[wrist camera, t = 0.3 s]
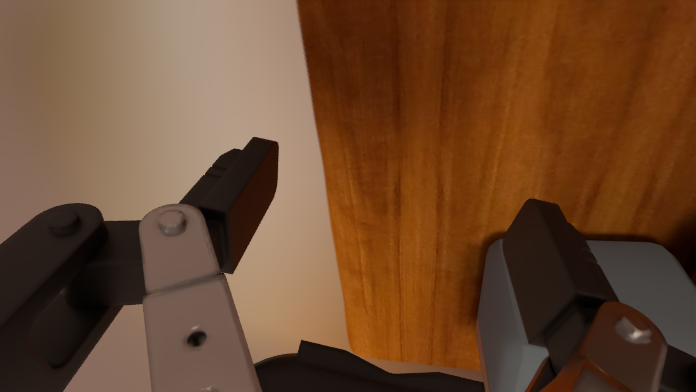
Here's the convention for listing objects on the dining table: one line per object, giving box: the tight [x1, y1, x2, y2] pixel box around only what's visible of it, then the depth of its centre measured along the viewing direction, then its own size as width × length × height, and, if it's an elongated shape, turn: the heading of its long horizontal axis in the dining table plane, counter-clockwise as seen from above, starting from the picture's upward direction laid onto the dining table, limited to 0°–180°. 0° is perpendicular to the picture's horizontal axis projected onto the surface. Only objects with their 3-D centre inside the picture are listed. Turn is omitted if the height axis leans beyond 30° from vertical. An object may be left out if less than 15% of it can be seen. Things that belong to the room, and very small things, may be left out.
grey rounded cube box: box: [475, 239, 696, 392], centre depth 32 cm, size 16×16×16 cm
